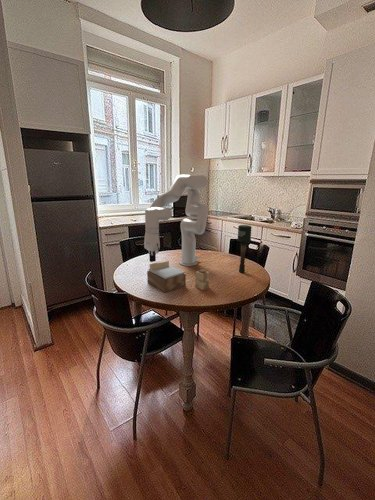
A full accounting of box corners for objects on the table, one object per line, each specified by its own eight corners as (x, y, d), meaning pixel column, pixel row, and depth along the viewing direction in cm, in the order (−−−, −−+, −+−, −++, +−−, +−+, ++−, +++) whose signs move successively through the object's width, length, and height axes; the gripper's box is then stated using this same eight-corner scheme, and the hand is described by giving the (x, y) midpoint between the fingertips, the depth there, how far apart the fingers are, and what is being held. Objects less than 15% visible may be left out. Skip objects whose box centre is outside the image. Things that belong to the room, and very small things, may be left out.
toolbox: (167, 277, 152) (167, 266, 150) (185, 286, 139) (185, 274, 138) (147, 282, 143) (147, 271, 141) (164, 292, 131) (164, 280, 129)
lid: (166, 266, 149) (166, 259, 148) (184, 273, 137) (184, 266, 136) (148, 270, 141) (148, 263, 140) (165, 279, 129) (165, 272, 128)
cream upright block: (202, 284, 141) (202, 268, 139) (208, 287, 138) (209, 270, 135) (195, 287, 138) (195, 270, 136) (201, 289, 135) (202, 272, 132)
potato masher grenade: (233, 270, 165) (236, 224, 157) (246, 269, 166) (249, 224, 158) (236, 274, 157) (240, 227, 149) (250, 274, 158) (254, 227, 150)
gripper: (139, 229, 146) (140, 259, 151) (153, 233, 135) (154, 265, 140) (150, 228, 151) (151, 257, 155) (165, 231, 140) (165, 263, 144)
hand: (152, 261), depth 148 cm, fingers closed
